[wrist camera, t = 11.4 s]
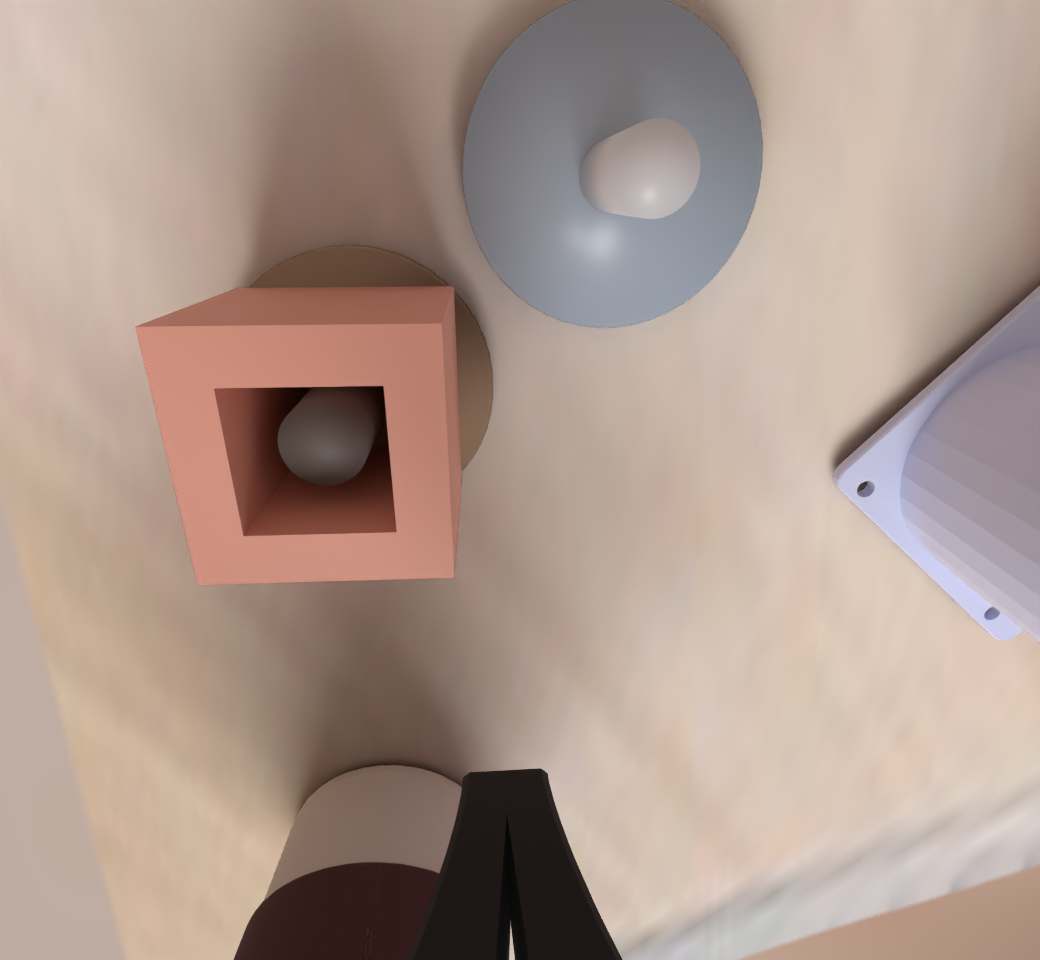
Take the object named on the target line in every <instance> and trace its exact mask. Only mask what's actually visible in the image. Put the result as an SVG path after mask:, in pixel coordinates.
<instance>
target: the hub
mask: <svg viewBox="0 0 1040 960" xmlns="http://www.w3.org/2000/svg"><path fill="white" fill-rule="evenodd" d="M417 286H449V285H448V284H447V283H446V282H445V281H444V280H442V279H441V278H440V277H439V276H437V275H436V274H435V273H433V272H432V271H431V270H429V269H428V268H426V267H424V266H422V265H421V264H419V263H417V262H415V261H414V260H412V259H409V258H407V257H404V256H402V255H399V254H397V253H394V252H390V251H387V250H383V249H379V248H374V247H366V246H334V247H327V248H321V249H318V250H314V251H311V252H308V253H304V254H301V255H298V256H295V257H293V258H291V259H289V260H287V261H285V262H282V263H280V264H278V265H277V266H275V267H274V268H272V269H271V270H269V271H268V272H266V273H265V274H263V275H262V276H261V277H260V278H259V279H258V280H257V281H256V282H255V283H254V284H252V285H251V286H250V287H249V288H289V287H417ZM454 301H455V325H456V349H457V373H458V398H459V422H460V446H461V470H462V471H463V470H464V468H465V467H466V466H467V464H468V463H469V462H470V461H471V459H472V458H473V456H474V455H475V453H476V451H477V450H478V448H479V446H480V444H481V442H482V440H483V437H484V435H485V432H486V430H487V427H488V423H489V419H490V415H491V409H492V400H493V379H492V368H491V361H490V355H489V352H488V348H487V345H486V342H485V338H484V336H483V334H482V332H481V329H480V327H479V325H478V323H477V321H476V319H475V318H474V316H473V314H472V313H471V311H470V309H469V308H468V307H467V305H466V304H465V303H464V301H463V300H462V299H461V298H460V296H459V295H458V294H457V293H456V292H455V291H454ZM299 393H300V402H299V403H298V404H297V405H296V406H295V407H294V408H293V409H292V411H291V412H290V413H289V414H288V415H287V416H286V417H285V419H284V420H283V422H282V423H281V426H280V428H279V432H278V448H279V452H280V455H281V457H282V459H283V461H284V462H285V464H286V465H287V467H288V468H289V469H290V470H291V471H292V472H293V473H294V474H296V475H297V476H298V477H300V478H301V479H303V480H305V481H307V482H310V483H313V484H317V485H324V486H331V485H338V484H341V483H344V482H346V481H348V480H350V479H352V478H353V477H354V476H356V475H357V474H358V473H359V472H360V470H361V469H362V468H363V466H364V464H365V462H366V460H367V457H368V455H369V453H370V451H371V448H372V446H373V444H389V441H388V430H387V419H386V408H385V397H384V386H343V387H299Z"/></svg>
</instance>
